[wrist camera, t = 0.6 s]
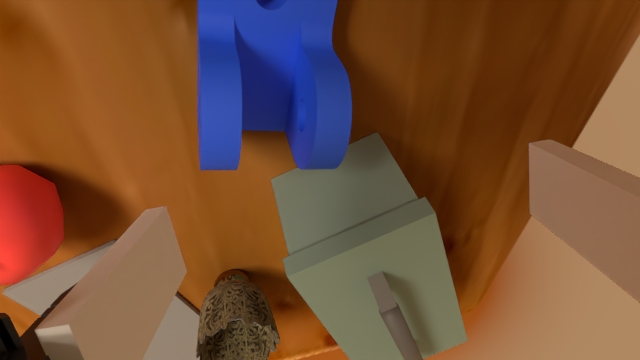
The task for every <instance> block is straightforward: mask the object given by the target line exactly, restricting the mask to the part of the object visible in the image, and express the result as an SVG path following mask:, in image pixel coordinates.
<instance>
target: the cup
mask: <svg viewBox="0 0 640 360" xmlns="http://www.w3.org/2000/svg"><path fill="white" fill-rule="evenodd" d="M275 342H276V343H275ZM276 344H280V337H279V334H278V331H277V328H276V324H275V321H274V318H273V315H272V312H271V308H270V306H269V303H268V301H267V298H266V296H265V294H264V293H263V291H262V290H261V289H260V288H259V287H258V286H257V285H255V284H254V283H251V281H250V278H249V277H248V276H247V274H246V273H244V272H242V271H239V270H230V271H226V272H224V273H222V274H221V275H219V276H218V277H217V279H216V281H215V284H214V288H213V289H212V290H211V291H210V292H209V293H208V294H207V296H206V297H205V299H204V302H203V304H202V308H201V312H200V319H199V327H198V337H197V347H196V358H198V357H199V356H200V360H267V358H268V356H269V353H270V350H273V351H275V352H276V350H277V349H276Z"/></svg>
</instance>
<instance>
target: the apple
mask: <svg viewBox="0 0 640 360" xmlns="http://www.w3.org/2000/svg"><path fill="white" fill-rule="evenodd" d="M63 240H64V211H63V207H62V204H61V201H60V198H59V195H58V192H57V189H56V186H55V184H54V183H52V182H50V181H48V180H47V179H45V178H43V177H41V176H39V175H37V174H35V173H33V172H31V171H29V170H27V169H25V168H23V167H21V166H19V165H0V285H9V284H16V283H18V282H20V281H21V280H23V279H25V278H27V277H28V276H30V275H31V274H32V273H33V272H35V271H36V270H37V269H38V268H39V267H40V266H41V265H43V264H44V263H45V262H46V261H47V260H48V259H49V258H51V257H52V256H53V255H54V254H55V252H56V251H57V249H58V248H59V246H60V244H61V243H62V241H63Z"/></svg>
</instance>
